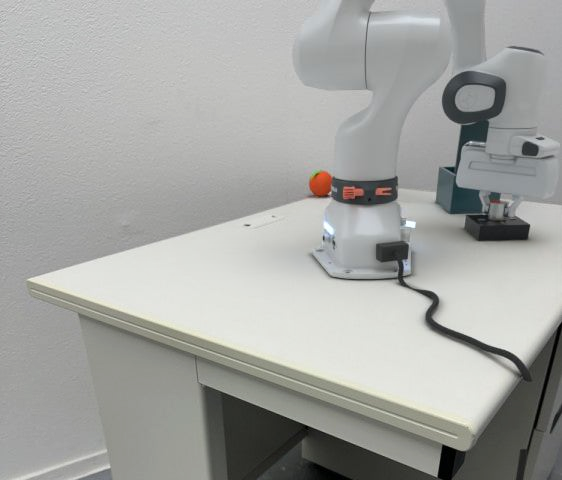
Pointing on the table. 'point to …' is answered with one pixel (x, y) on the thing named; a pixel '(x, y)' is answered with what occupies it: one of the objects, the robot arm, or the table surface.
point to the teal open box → (458, 194)
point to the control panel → (496, 228)
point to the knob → (497, 210)
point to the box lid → (471, 137)
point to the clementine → (320, 183)
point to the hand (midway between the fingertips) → (498, 215)
